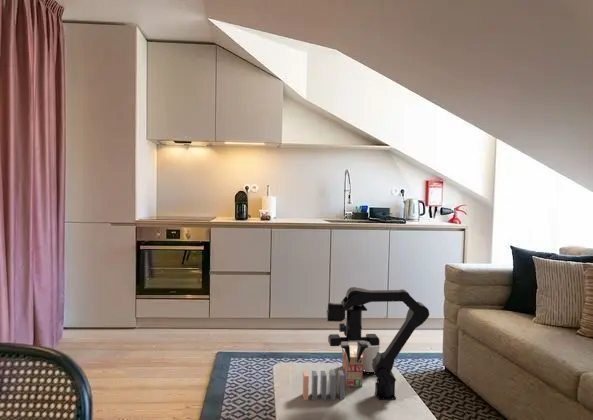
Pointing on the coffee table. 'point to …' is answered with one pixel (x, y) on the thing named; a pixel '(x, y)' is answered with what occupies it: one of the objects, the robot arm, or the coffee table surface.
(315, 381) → the domino
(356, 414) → the coffee table surface
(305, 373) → the domino
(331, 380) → the domino
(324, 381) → the domino
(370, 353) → the cup
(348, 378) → the stack of blocks
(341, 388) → the domino
